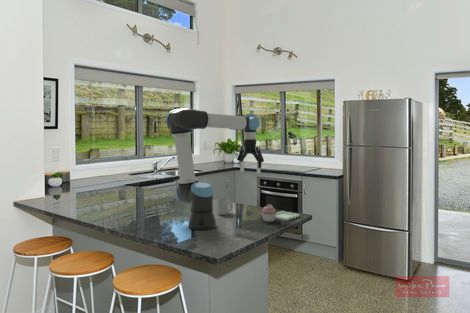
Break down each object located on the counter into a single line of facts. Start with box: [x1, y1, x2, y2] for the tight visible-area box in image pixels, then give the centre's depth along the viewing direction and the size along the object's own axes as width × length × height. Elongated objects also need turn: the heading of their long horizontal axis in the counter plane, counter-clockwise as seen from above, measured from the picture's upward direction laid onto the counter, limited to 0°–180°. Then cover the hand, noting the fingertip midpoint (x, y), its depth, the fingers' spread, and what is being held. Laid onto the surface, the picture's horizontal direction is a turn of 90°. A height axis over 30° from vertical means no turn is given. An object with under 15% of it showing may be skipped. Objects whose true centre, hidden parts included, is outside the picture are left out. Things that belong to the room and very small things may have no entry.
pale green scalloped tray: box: [275, 210, 300, 222], centre depth 234 cm, size 13×14×2 cm
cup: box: [216, 198, 234, 216], centre depth 244 cm, size 7×10×9 cm
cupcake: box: [260, 203, 277, 223], centre depth 224 cm, size 9×9×10 cm
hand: (250, 172), depth 248 cm, fingers open, 13 cm apart
